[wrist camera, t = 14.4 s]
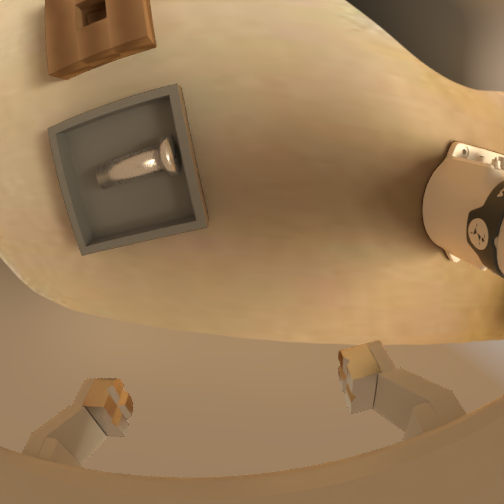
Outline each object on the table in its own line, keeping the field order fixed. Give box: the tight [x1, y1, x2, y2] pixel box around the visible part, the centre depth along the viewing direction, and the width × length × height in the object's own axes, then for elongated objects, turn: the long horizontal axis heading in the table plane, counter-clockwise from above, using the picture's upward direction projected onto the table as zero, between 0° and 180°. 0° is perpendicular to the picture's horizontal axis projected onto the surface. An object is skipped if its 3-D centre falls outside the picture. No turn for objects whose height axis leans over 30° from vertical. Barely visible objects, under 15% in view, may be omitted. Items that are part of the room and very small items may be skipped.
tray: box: [48, 84, 209, 256], centre depth 32 cm, size 16×16×4 cm
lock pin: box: [96, 135, 181, 190], centre depth 31 cm, size 4×4×9 cm
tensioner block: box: [45, 0, 157, 79], centre depth 24 cm, size 12×12×5 cm
